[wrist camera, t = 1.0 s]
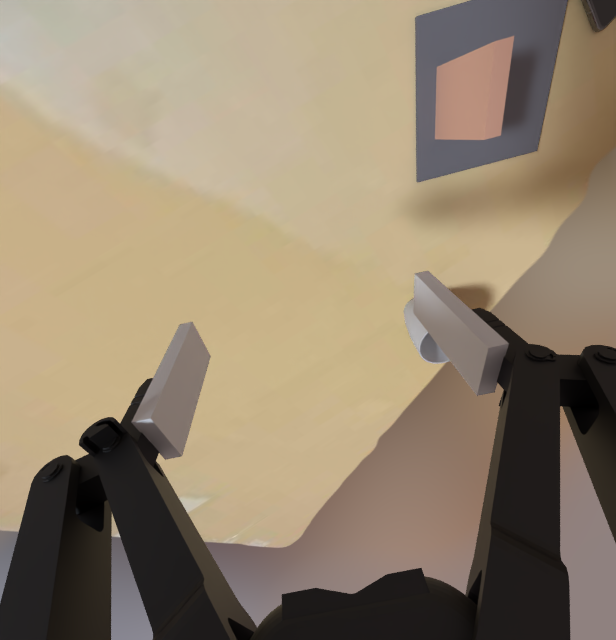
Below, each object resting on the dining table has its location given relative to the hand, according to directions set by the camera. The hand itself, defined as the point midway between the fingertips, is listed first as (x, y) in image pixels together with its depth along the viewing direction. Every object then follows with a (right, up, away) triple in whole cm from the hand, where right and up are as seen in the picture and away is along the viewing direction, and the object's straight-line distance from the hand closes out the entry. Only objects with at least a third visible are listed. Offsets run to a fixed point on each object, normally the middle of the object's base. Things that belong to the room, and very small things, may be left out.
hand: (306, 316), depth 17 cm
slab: (+16, +26, +17) cm, 34 cm away
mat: (+21, +27, +17) cm, 38 cm away
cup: (+20, +2, +33) cm, 39 cm away
